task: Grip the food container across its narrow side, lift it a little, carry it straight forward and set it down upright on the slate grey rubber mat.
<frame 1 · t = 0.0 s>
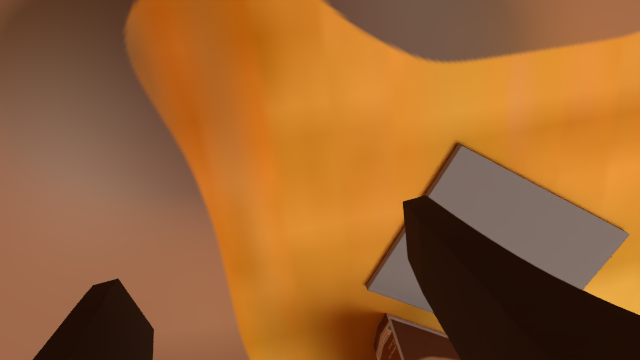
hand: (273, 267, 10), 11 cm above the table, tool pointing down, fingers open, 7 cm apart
mat: (499, 257, 25), on the table
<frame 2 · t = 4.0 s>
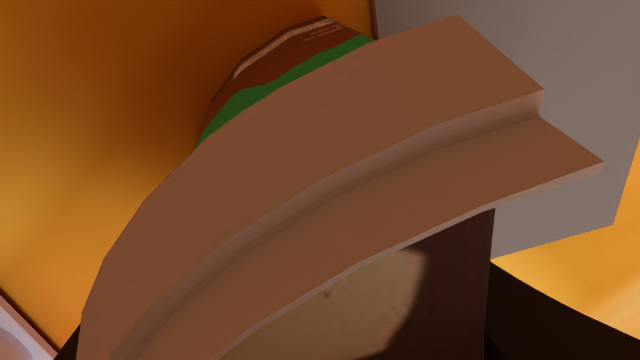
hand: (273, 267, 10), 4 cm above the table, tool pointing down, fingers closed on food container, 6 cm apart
mat: (519, 108, 14), on the table
food container: (260, 173, 14), on the table, touching gripper
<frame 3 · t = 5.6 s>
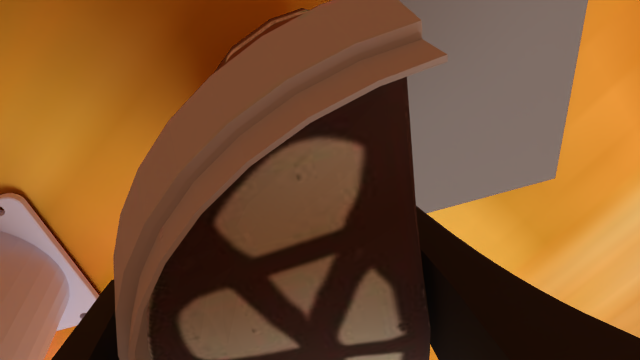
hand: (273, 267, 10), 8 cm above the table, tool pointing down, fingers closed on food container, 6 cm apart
mat: (466, 73, 18), on the table
food container: (251, 150, 16), point 2 cm above the table, touching gripper
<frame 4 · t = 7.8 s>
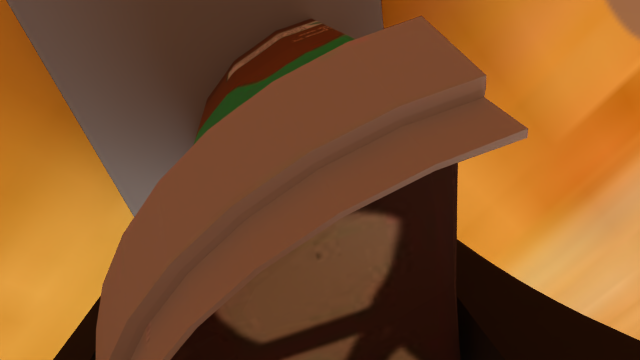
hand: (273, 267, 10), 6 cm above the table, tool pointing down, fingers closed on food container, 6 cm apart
mat: (260, 158, 15), on the table
food container: (254, 169, 15), resting on mat, touching gripper
when the fingers open (6 cm above the table, at t = 8.8 s): food container stays where it is, resting on mat.
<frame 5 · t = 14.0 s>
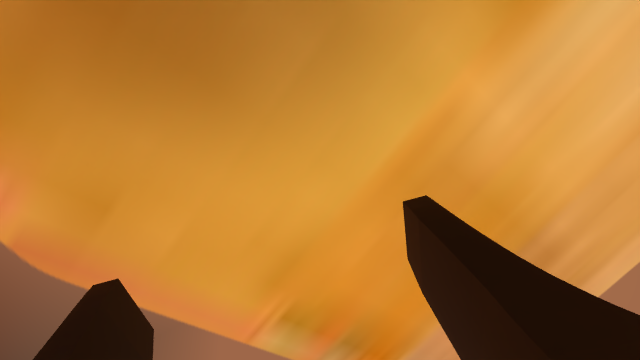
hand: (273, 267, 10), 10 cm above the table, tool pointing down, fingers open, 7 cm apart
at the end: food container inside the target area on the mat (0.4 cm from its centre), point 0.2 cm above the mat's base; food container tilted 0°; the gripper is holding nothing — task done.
